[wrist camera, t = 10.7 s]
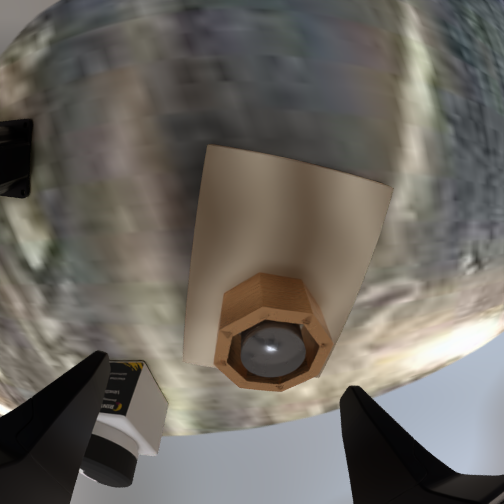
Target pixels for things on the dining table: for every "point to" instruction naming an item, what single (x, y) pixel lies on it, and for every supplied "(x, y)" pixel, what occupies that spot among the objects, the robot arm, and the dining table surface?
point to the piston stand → (278, 236)
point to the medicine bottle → (125, 425)
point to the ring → (277, 309)
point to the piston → (272, 348)
